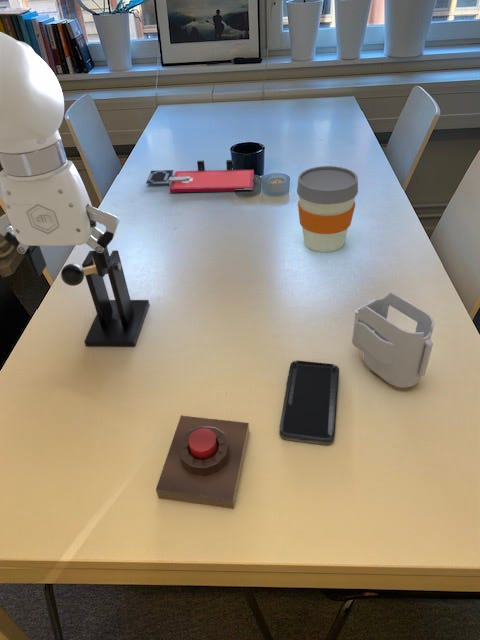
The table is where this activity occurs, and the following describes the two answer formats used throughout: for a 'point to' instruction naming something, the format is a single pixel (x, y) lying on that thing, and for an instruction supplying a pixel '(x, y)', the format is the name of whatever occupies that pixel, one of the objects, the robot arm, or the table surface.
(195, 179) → the red board with handle
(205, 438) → the button
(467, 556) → the table surface
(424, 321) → the cable organizer
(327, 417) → the phone
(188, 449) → the button block
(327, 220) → the reusable coffee cup
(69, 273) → the switch lever
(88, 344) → the switch bracket
